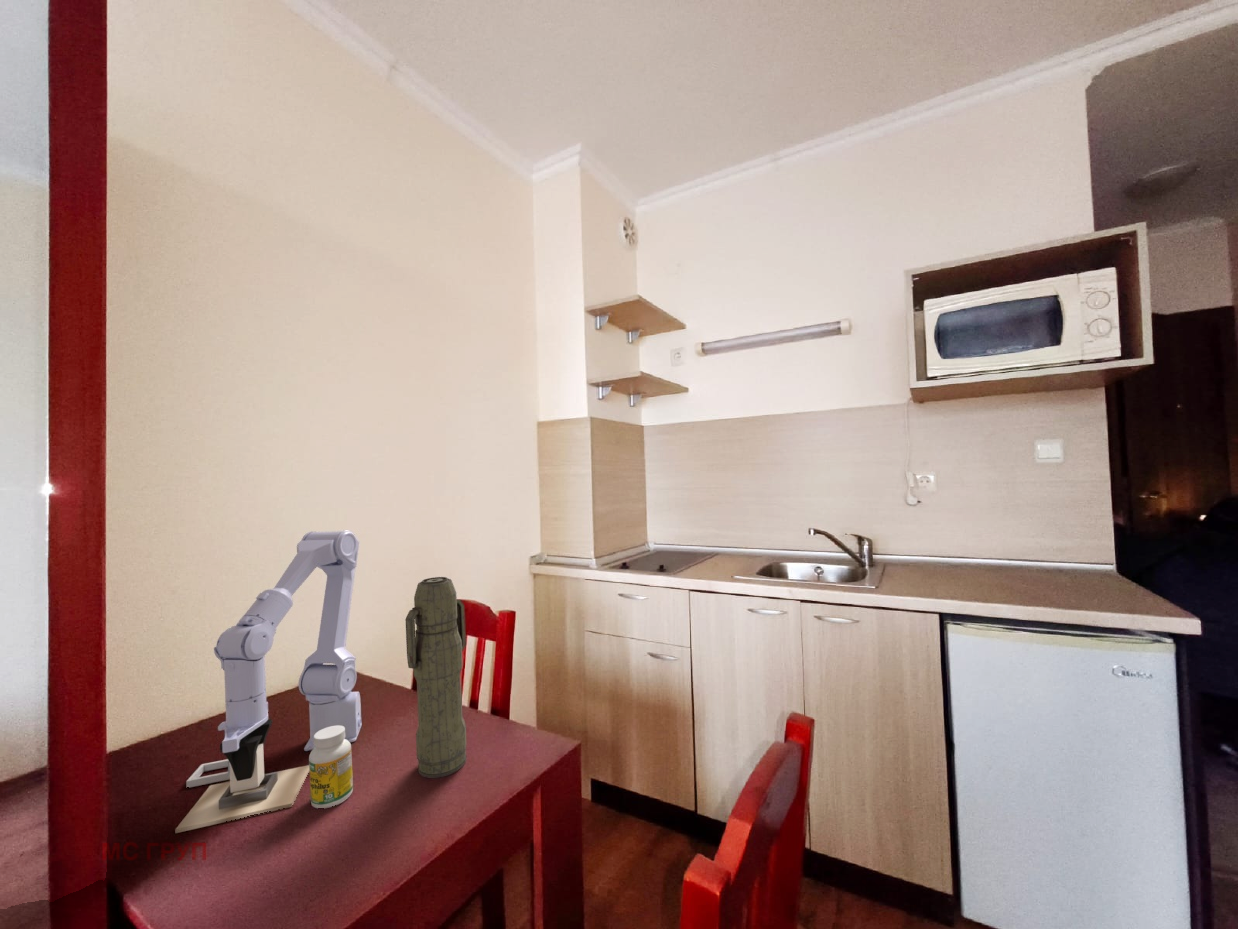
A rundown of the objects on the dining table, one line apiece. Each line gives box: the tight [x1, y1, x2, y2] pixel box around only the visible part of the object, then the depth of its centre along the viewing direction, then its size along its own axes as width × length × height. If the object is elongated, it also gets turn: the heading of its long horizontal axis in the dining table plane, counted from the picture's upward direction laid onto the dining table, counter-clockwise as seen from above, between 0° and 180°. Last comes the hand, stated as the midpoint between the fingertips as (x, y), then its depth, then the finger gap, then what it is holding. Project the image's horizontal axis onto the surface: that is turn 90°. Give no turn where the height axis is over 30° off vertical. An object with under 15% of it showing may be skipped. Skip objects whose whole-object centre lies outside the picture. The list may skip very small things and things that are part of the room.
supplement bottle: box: [308, 725, 354, 809], centre depth 86 cm, size 6×6×11 cm
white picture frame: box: [185, 758, 230, 789], centre depth 94 cm, size 7×6×1 cm
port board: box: [174, 764, 310, 834], centre depth 87 cm, size 16×12×2 cm
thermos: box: [405, 576, 467, 779], centre depth 95 cm, size 9×12×35 cm
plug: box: [227, 744, 265, 793], centre depth 87 cm, size 4×3×6 cm, turn 108°
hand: (248, 772), depth 87 cm, fingers closed on plug, 3 cm apart
